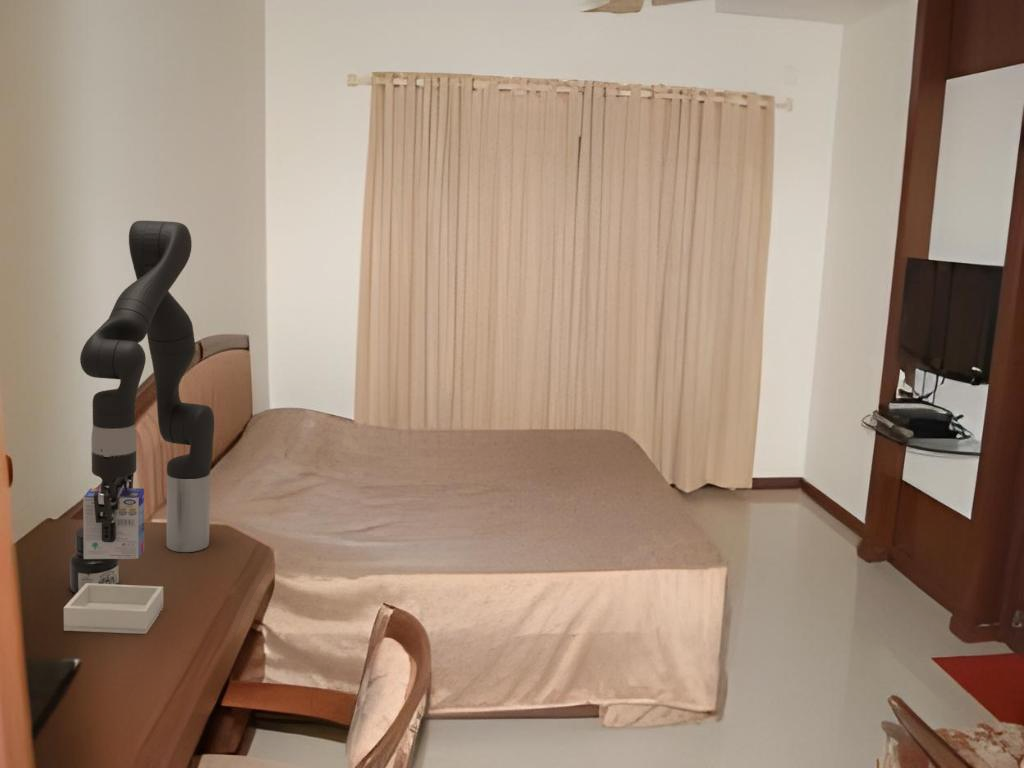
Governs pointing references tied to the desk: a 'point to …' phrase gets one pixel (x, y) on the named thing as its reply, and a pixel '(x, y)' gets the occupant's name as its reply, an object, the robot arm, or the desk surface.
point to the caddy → (113, 608)
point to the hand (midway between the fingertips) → (114, 534)
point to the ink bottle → (90, 568)
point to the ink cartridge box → (127, 527)
